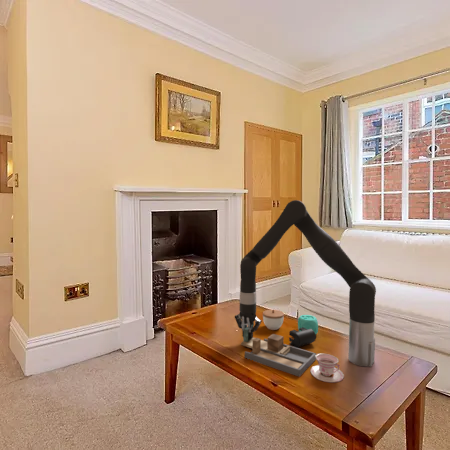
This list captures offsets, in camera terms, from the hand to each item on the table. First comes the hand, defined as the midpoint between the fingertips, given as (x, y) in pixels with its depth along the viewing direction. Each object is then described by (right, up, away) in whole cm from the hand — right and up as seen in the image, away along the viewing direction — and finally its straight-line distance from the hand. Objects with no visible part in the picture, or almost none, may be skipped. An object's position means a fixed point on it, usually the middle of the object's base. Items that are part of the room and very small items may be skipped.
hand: (247, 338), depth 143 cm
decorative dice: (+31, -2, +13) cm, 33 cm away
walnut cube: (+11, -1, -8) cm, 14 cm away
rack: (+13, -3, -13) cm, 18 cm away
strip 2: (+10, -4, -17) cm, 20 cm away
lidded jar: (+15, -2, +20) cm, 25 cm away
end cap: (+25, -3, 0) cm, 25 cm away
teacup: (+28, -5, -25) cm, 38 cm away
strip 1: (+7, -3, -5) cm, 9 cm away
